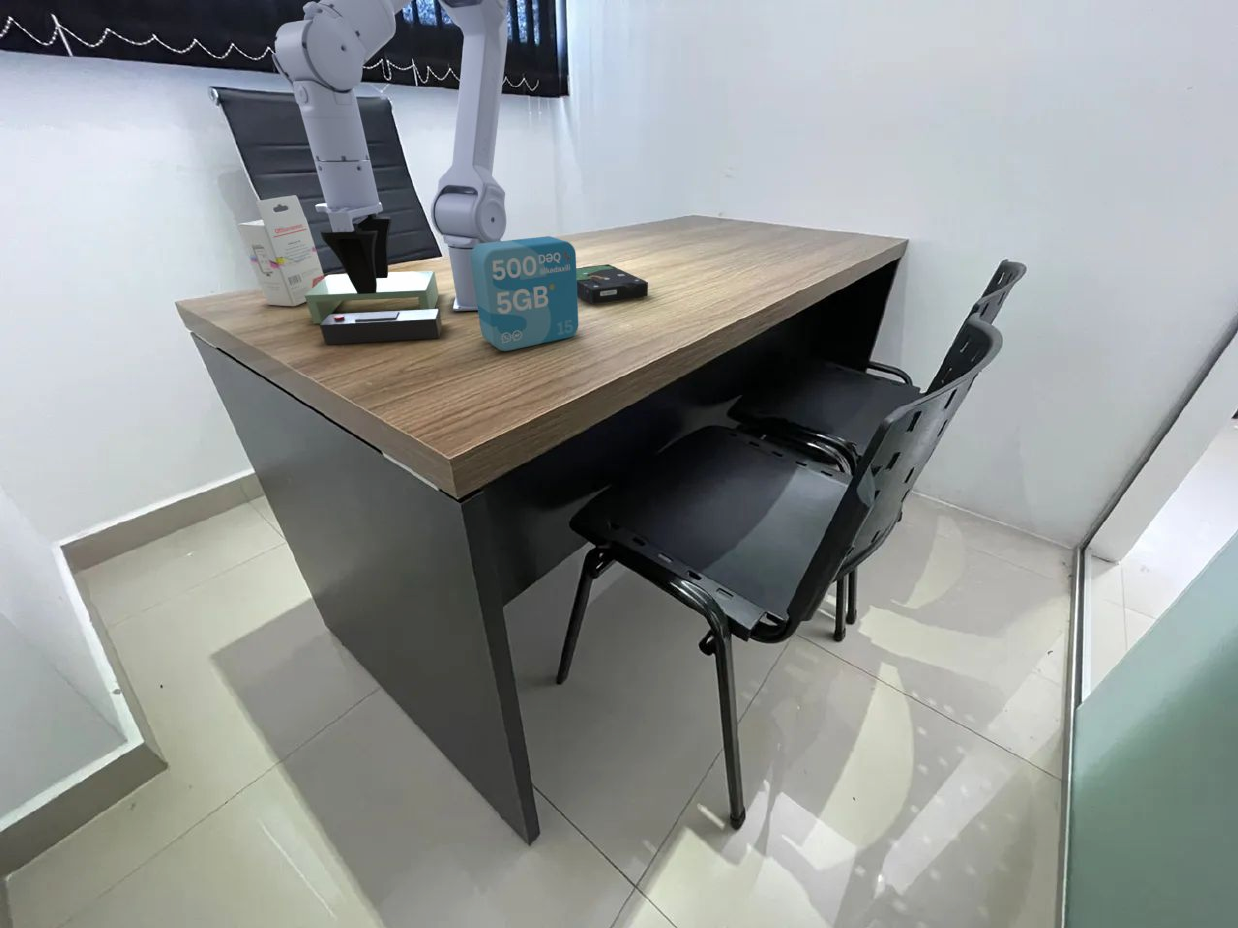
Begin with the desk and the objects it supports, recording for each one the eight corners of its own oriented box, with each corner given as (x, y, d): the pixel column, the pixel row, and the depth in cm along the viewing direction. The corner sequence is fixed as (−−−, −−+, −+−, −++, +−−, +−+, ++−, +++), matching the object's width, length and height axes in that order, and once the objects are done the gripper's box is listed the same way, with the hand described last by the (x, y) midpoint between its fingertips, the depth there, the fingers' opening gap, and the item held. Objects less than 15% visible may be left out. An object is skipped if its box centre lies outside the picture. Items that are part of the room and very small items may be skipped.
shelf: (438, 295, 85) (434, 270, 83) (431, 317, 75) (425, 290, 73) (335, 300, 82) (328, 274, 80) (313, 324, 72) (304, 295, 70)
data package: (495, 354, 63) (482, 250, 56) (481, 343, 66) (467, 244, 60) (579, 336, 69) (576, 240, 62) (563, 327, 72) (558, 234, 65)
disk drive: (649, 299, 84) (608, 278, 95) (650, 282, 83) (608, 262, 94) (592, 307, 80) (556, 284, 91) (592, 289, 79) (555, 268, 89)
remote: (442, 327, 71) (438, 306, 70) (439, 338, 68) (435, 316, 66) (335, 333, 69) (328, 312, 68) (325, 345, 65) (318, 322, 64)
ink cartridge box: (304, 291, 87) (272, 193, 79) (330, 293, 86) (300, 194, 78) (265, 305, 80) (226, 200, 72) (293, 307, 79) (256, 201, 71)
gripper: (322, 157, 63) (353, 273, 70) (281, 164, 51) (323, 302, 58) (383, 157, 64) (407, 271, 71) (356, 164, 52) (388, 299, 59)
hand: (373, 285), depth 65 cm, fingers open, 7 cm apart
